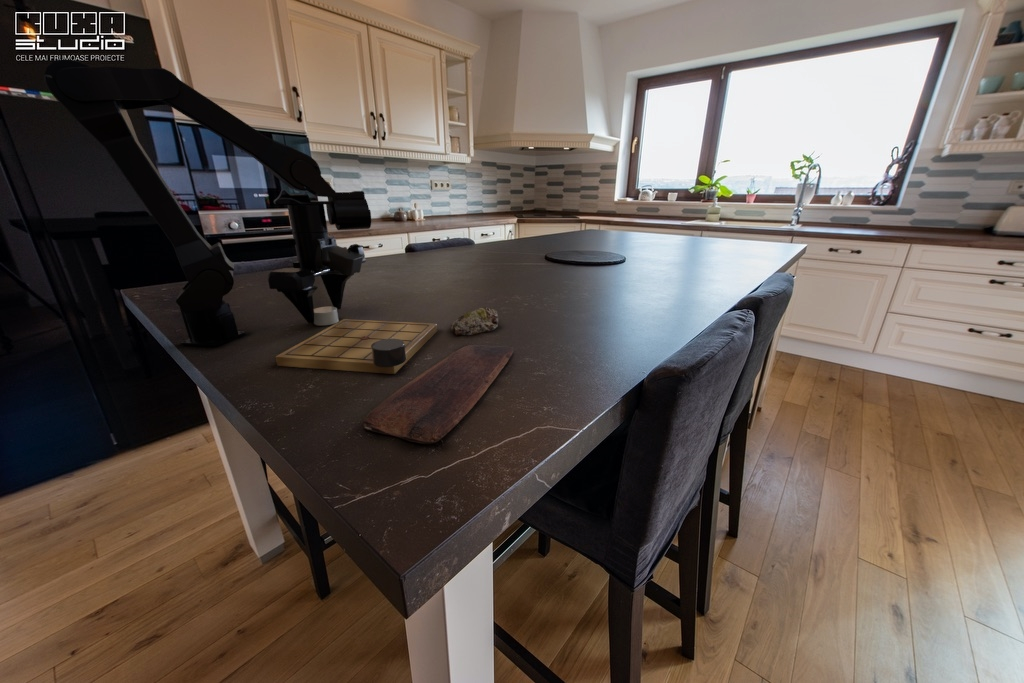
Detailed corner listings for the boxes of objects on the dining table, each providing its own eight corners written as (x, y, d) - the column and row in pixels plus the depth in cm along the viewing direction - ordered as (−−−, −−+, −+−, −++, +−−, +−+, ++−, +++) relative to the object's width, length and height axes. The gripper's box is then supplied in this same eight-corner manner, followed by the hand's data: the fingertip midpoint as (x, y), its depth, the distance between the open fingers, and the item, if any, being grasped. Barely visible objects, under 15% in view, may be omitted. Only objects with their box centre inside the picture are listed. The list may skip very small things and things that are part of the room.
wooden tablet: (465, 336, 64) (523, 336, 61) (467, 349, 65) (524, 350, 61) (352, 421, 41) (435, 429, 37) (357, 439, 42) (439, 449, 38)
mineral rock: (473, 305, 79) (504, 300, 74) (479, 326, 80) (510, 322, 75) (434, 320, 71) (466, 316, 66) (441, 343, 72) (472, 341, 67)
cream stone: (308, 325, 74) (306, 312, 74) (322, 318, 79) (320, 306, 78) (330, 326, 74) (328, 313, 73) (343, 319, 78) (341, 306, 77)
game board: (277, 366, 57) (274, 355, 56) (344, 326, 74) (343, 318, 73) (394, 374, 54) (393, 363, 54) (437, 331, 71) (436, 323, 71)
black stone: (367, 366, 53) (365, 349, 52) (382, 353, 57) (380, 337, 56) (398, 368, 53) (396, 351, 52) (411, 355, 57) (409, 339, 56)
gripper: (320, 238, 60) (336, 334, 66) (377, 227, 78) (386, 304, 83) (255, 237, 62) (276, 330, 68) (325, 227, 79) (337, 302, 85)
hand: (325, 315), depth 76 cm, fingers open, 8 cm apart
